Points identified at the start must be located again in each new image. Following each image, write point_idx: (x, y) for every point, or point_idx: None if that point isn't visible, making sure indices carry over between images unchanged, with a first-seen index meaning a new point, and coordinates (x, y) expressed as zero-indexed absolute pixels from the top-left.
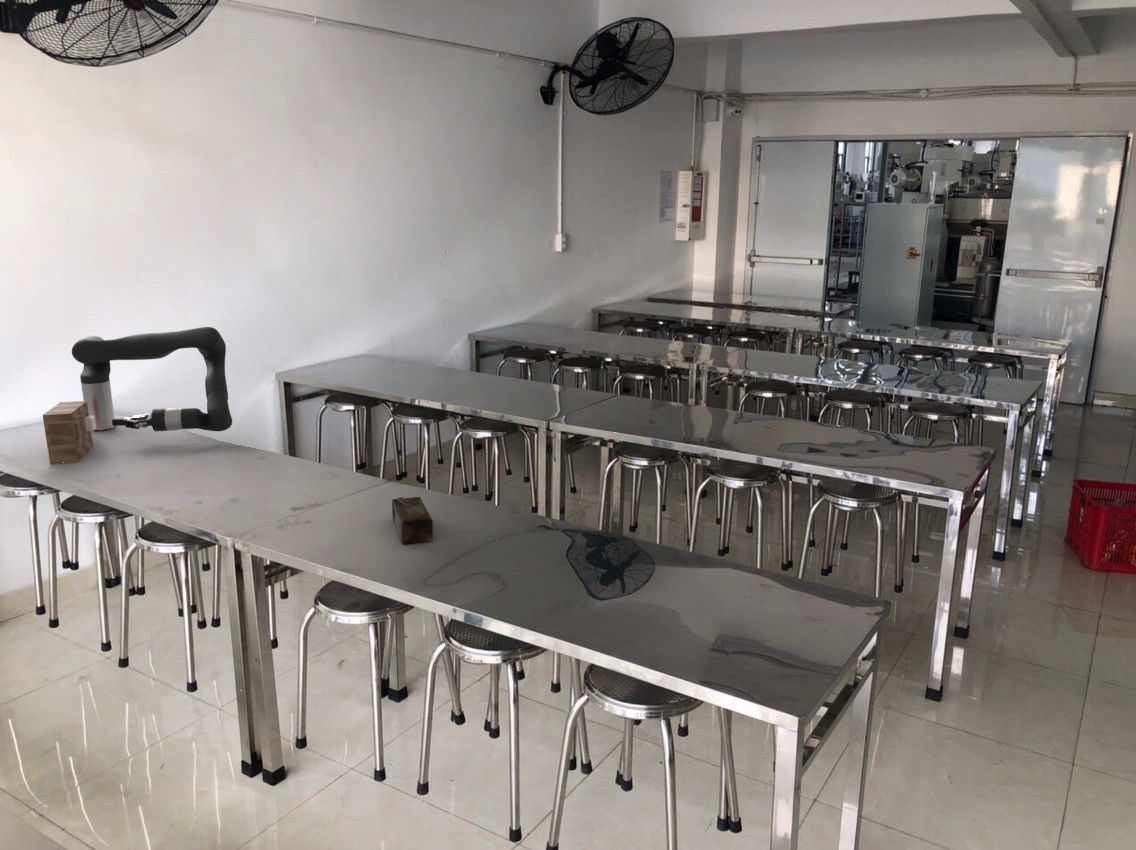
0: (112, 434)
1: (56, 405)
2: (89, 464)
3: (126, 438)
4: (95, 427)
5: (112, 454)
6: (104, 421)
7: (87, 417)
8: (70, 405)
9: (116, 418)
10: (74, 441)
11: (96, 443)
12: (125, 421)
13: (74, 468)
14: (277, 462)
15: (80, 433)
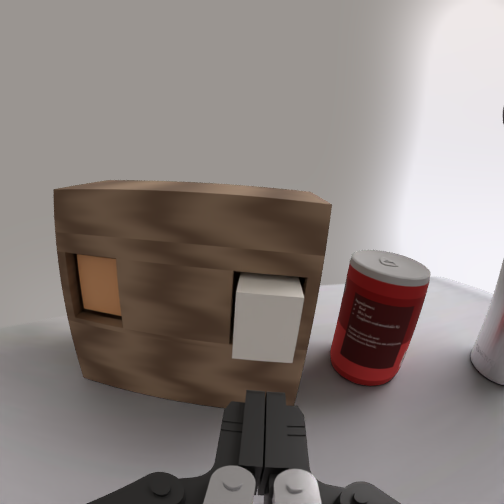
0: (463, 413)
1: (250, 186)
2: (36, 395)
3: (428, 480)
4: (283, 357)
5: (126, 479)
6: (500, 356)
7: (257, 283)
8: (231, 189)
9: (284, 408)
10: (66, 309)
11: (349, 410)
12: (148, 482)
13: (29, 363)
14: None
15: (140, 314)
